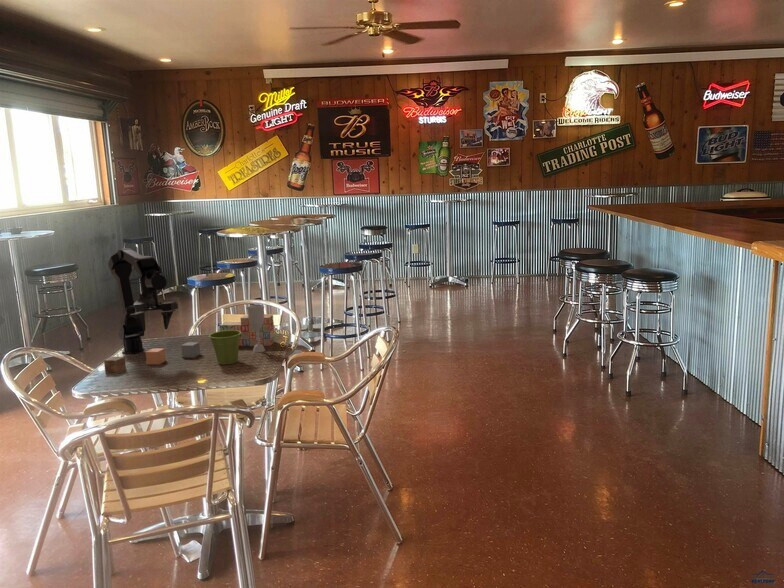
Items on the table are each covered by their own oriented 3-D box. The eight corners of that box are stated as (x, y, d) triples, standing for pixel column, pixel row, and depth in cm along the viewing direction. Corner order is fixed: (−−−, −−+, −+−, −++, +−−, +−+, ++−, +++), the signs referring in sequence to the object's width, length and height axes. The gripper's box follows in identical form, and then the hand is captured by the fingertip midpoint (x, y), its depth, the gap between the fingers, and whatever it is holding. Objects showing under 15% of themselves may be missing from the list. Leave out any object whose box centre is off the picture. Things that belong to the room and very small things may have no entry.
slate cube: (182, 357, 240) (181, 345, 239) (189, 354, 245) (187, 342, 244) (193, 357, 239) (192, 345, 238) (200, 354, 244) (199, 342, 243)
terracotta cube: (146, 364, 232) (145, 351, 231) (154, 360, 237) (153, 348, 236) (158, 364, 231) (157, 352, 230) (166, 360, 236) (164, 348, 235)
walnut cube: (105, 373, 223) (103, 360, 222) (114, 369, 228) (112, 356, 227) (117, 373, 222) (115, 360, 221) (126, 369, 226) (124, 356, 226)
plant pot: (219, 358, 236) (217, 330, 235) (248, 358, 235) (246, 329, 233) (206, 367, 225) (203, 337, 223) (236, 367, 223) (233, 337, 221)
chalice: (247, 352, 242) (243, 308, 239) (253, 348, 249) (250, 305, 246) (264, 353, 241) (260, 308, 238) (270, 348, 248) (267, 305, 244)
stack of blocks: (221, 346, 255) (218, 318, 252) (227, 342, 261) (224, 314, 259) (271, 345, 252) (268, 317, 250) (275, 342, 258) (273, 313, 256)
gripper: (114, 294, 224) (120, 336, 226) (160, 290, 221) (166, 332, 223) (131, 291, 235) (137, 330, 237) (175, 286, 232) (181, 326, 234)
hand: (155, 330), depth 232 cm, fingers open, 9 cm apart
